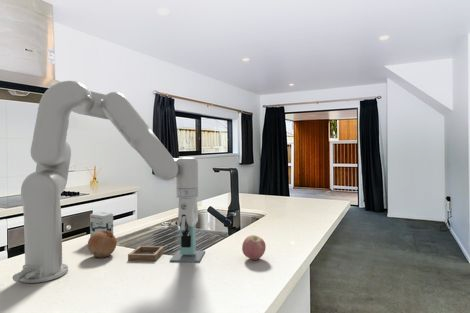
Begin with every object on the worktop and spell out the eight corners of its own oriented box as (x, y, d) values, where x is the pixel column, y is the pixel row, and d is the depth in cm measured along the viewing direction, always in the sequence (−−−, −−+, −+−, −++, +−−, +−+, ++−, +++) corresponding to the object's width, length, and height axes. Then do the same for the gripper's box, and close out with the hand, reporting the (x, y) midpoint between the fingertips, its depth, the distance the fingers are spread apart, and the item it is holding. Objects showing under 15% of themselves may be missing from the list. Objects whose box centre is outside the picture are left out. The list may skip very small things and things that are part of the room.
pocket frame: (155, 261, 102) (155, 255, 102) (128, 260, 103) (128, 254, 103) (164, 251, 111) (164, 246, 111) (139, 251, 112) (139, 245, 112)
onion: (113, 262, 110) (126, 236, 111) (96, 264, 101) (110, 236, 102) (95, 250, 113) (108, 225, 114) (76, 251, 104) (90, 224, 105)
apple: (246, 264, 98) (245, 240, 98) (239, 256, 105) (239, 234, 105) (268, 262, 100) (268, 238, 100) (260, 254, 107) (260, 232, 107)
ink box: (89, 242, 124) (89, 213, 124) (100, 239, 129) (99, 211, 128) (104, 245, 120) (103, 215, 120) (114, 241, 124) (113, 213, 124)
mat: (199, 262, 100) (199, 260, 100) (170, 261, 101) (170, 259, 101) (205, 252, 110) (205, 250, 110) (178, 251, 111) (178, 250, 111)
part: (192, 254, 103) (192, 225, 103) (180, 254, 104) (179, 225, 104) (195, 250, 108) (195, 222, 108) (183, 250, 108) (183, 222, 108)
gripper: (192, 196, 97) (193, 253, 97) (202, 189, 113) (203, 237, 114) (169, 196, 97) (170, 252, 98) (183, 189, 114) (183, 237, 114)
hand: (187, 244), depth 106 cm, fingers closed on part, 4 cm apart
